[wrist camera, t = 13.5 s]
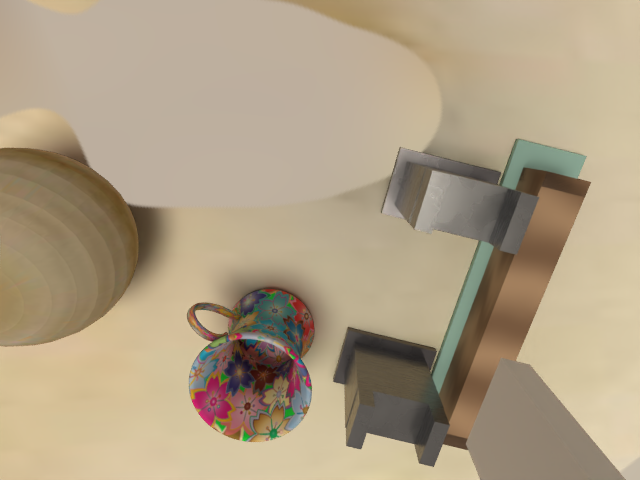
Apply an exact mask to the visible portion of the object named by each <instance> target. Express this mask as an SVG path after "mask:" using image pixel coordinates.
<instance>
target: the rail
mask: <svg viewBox="0 0 640 480" xmlns="http://www.w3.org/2000/svg"><path fill="white" fill-rule="evenodd" d="M590 183H591V182H588V181H584V180H580V179H576V178H572V177H568V176H564V175H560V174H556V173H552V172H548V171H543V170H537V169H531V168H525V167H524V168H523V170H522V173H521V176H520V178H519V181H518V184H517V186H516V189H515V190H518V191H521V192H524V193H528V194H531V195H534V196H537V197H539V200H538V202H537V205H536V207H535V210H534V212H533V215H532V217H531V220H530V223H529V225H528V228H527V230H526V233H525V235H524V238H523V240H522V243H521V246H520V248H519V251H518V253H517V255H516V254H512V253H508V252H504V251H500V250H498V249H497V248H495V247H494V248H493V251H492V253H491V256H490V259H489V261H488V264H487V267H486V269H485V272H484V275H483V277H482V280H481V283H480V285H479V288H478V291H477V294H476V296H475V299H474V302H473V304H472V307H471V310H470V312H469V315H468V318H467V320H466V323H465V326H464V328H463V331H462V334H461V336H460V339H459V342H458V344H457V347H456V350H455V352H454V355H453V358H452V361H451V363H450V366H449V369H448V371H447V374H446V377H445V379H444V382H443V385H442V387H441V390H440V393H439V397H440V399H441V402H442V404H443V407H444V411H445V414H446V416H447V419H448V421H449V424H450V427H449V429H448V432H447V434H446V437H445V439H444V442H443V444H445V445H449V446H453V447H457V448H461V449H466V450H468V448H467V446H466V442H467V439H468V437H469V435H470V432H471V430H472V427H473V425H474V422H475V420H476V417H477V415H478V413H479V410H480V408H481V405H482V403H483V400H484V398H485V396H486V393H487V391H488V388H489V386H490V383H491V381H492V379H493V376H494V374H495V371H496V369H497V366H498V364H499V361H500V359H501V358H504V359H508V360H512V361H516V359H517V356H518V354H519V352H520V349H521V347H522V344H523V342H524V340H525V337H526V335H527V333H528V330H529V328H530V326H531V323H532V321H533V318H534V316H535V314H536V311H537V309H538V307H539V304H540V302H541V299H542V297H543V295H544V292H545V290H546V288H547V285H548V283H549V281H550V278H551V276H552V273H553V271H554V269H555V266H556V264H557V262H558V259H559V257H560V254H561V252H562V250H563V247H564V245H565V243H566V240H567V238H568V236H569V233H570V231H571V228H572V226H573V224H574V221H575V219H576V217H577V214H578V212H579V209H580V207H581V205H582V202H583V200H584V198H585V195H586V193H587V191H588V188H589V186H590Z"/></svg>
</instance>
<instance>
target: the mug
mask: <svg viewBox="0 0 640 480" xmlns="http://www.w3.org/2000/svg"><path fill="white" fill-rule="evenodd" d="M196 310H209V311H213V312H216V313H219V314H222V315H224V316H226V317H228V318H229V324H228V329H229V335H228V333H227V332H225V333H224V334H215V333H212V332H210V331H208V330H207V329H206V328H204V327H203V326H202V325H201V324H200V322H199V321H198V320H197V318H196V315H195V311H196ZM187 320H188V322H189V324H190V326H191V327H192V329H193V330H194V331H195V332H196V333H197V334H198V335H199V336H201V337H202V338H204V339H206V340H209V341H213V342H212V343H210V344H209V345H208V346H206V347H205V348H204V349H203V350H202V351H201V352H200V354H199V355H198V356H197V358H196V359H195V361H194V363H193V365H192V368H191V371H190V376H189V391H190V396H191V399H192V402H193V405H194V407H195V409H196V410H197V412H198V413H199V415H200V416H201V417H202V418H203V420H204V421H205V422H206V423H207V424H208V425H210V426H211V427H212V428H213V429H215V430H216V431H218V432H220V433H221V434H223V435H226V436H228V437H230V438H233V439H237V440H241V441H248V442H263V441H269V440H273V439H276V438H279V437H281V436H283V435H285V434H287V433H289V432H290V431H291V430H293V429H294V428H295V427H296V426H297V425H298V424H299V423H300V422H301V421H302V419H303V418H304V416H305V415H306V413H307V411H308V409H309V406H310V402H311V396H312V386H311V380H310V376H309V373H308V371H307V369H306V367H305V365H304V363H303V362H302V360H301V358H302V357H303V356H304V355H305V354H306V353H307V352H308V350H309V348H310V347H311V344H312V342H313V338H314V324H313V320H312V317H311V315H310V313H309V311H308V309H307V308H306V307H305V305H304V304H303V303H302V302H301V301H300V300H299V299H297V298H296V297H294V296H293V295H291V294H289V293H287V292H284V291H280V290H275V289H264V290H258V291H255V292H252V293H250V294H248V295H246V296H245V297H243V298H242V299H241V300H240V301H239V302H238V303H237V304H236V305H235V307H234V308H233V310H232V311H231V310H229V309H227V308H225V307H223V306H220V305H217V304H213V303H197V304H195V305H193V306H192V307H191V308H190V309H189V310H188V312H187Z"/></svg>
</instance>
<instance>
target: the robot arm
mask: <svg viewBox="0 0 640 480" xmlns="http://www.w3.org/2000/svg"><path fill="white" fill-rule="evenodd" d="M0 241H1V236H0ZM466 446H467V448H468V450H469V453H470V455H471V458H472V460H473V463H474V465H475V467H476V470H477V472H478V475H479V477H480V480H625V478H624V477H623V476H622V475H621V474H620V472H619V471H618V470H617V469H616V468H615V466H614V465H613V464H612V463H611V462H610V460H609V459H608V458H607V457H606V456H605V454H604V453H603V452H602V451H601V450H600V448H599V447H598V446H597V445H596V444H595V442H594V441H593V440H592V439H591V438H590V436H589V435H588V434H587V433H586V432H585V430H584V429H583V428H582V427H581V426H580V424H579V423H578V422H577V421H576V420H575V418H574V417H573V416H572V415H571V414H570V412H569V411H568V410H567V409H566V408H565V406H564V405H563V404H562V403H561V402H560V400H559V399H558V398H557V397H556V396H555V394H554V393H553V392H552V391H551V390H550V388H549V387H548V386H547V385H546V384H545V382H544V381H543V380H542V379H541V378H540V376H539V375H538V374H537V373H536V372H535V370H534V369H533V368H532V367H531V366H530V365H529V364H525V363H521V362H517V361H512V360H508V359H504V358H501V359H500V361H499V364H498V366H497V369H496V371H495V374H494V376H493V379H492V381H491V383H490V386H489V388H488V391H487V393H486V396H485V398H484V400H483V403H482V405H481V408H480V410H479V413H478V415H477V417H476V420H475V422H474V425H473V427H472V430H471V432H470V435H469V437H468V439H467V442H466Z"/></svg>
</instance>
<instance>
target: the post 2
mask: <svg viewBox="0 0 640 480" xmlns="http://www.w3.org/2000/svg"><path fill="white" fill-rule="evenodd" d="M500 174H501V172H497V171H493V170H489V169H485V168H481V167H477V166H473V165H469V164H465V163H461V162H457V161H453V160H449V159H445V158H441V157H437V156H433V155H429V154H425V153H421V152H417V151H413V150H409V149H405V148H401V147H400V149H399V152H398V155H397V159H396V162H395V166H394V169H393V173H392V176H391V180H390V183H389V187H388V190H387V194H386V197H385V201H384V204H383V207H382V211H381V213H382V214H385V215H389V216H393V217H397V218H401V219H405V220H407V222H408V223H410V225H411V226H412V227H413V228H414V229H415V230H419V231H423V232H427V233H431V234H432V231H433V229H435V230H439V231H443V232H447V233H451V234H455V235H459V236H463V237H468V238H472V239H476V240H480V241H484V242H488V243H490V244H491V245H493V246H494V247H495V248H497V249H498V250H500V251H504V252H508V253H512V254H516V255H517V253H518V251H519V248H520V246H521V243H522V240H523V238H524V235H525V233H526V230H527V228H528V225H529V223H530V220H531V217H532V215H533V212H534V210H535V207H536V205H537V202H538V200H539V197H537V196H534V195H531V194H528V193H524V192H521V191H518V190H514V189H511V188H508V187H504V186H501V185H498V184H497V183H498V180H499V177H500Z"/></svg>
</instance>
